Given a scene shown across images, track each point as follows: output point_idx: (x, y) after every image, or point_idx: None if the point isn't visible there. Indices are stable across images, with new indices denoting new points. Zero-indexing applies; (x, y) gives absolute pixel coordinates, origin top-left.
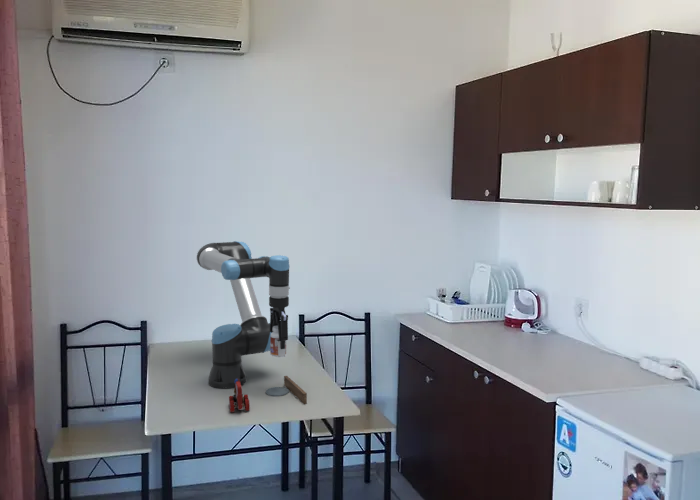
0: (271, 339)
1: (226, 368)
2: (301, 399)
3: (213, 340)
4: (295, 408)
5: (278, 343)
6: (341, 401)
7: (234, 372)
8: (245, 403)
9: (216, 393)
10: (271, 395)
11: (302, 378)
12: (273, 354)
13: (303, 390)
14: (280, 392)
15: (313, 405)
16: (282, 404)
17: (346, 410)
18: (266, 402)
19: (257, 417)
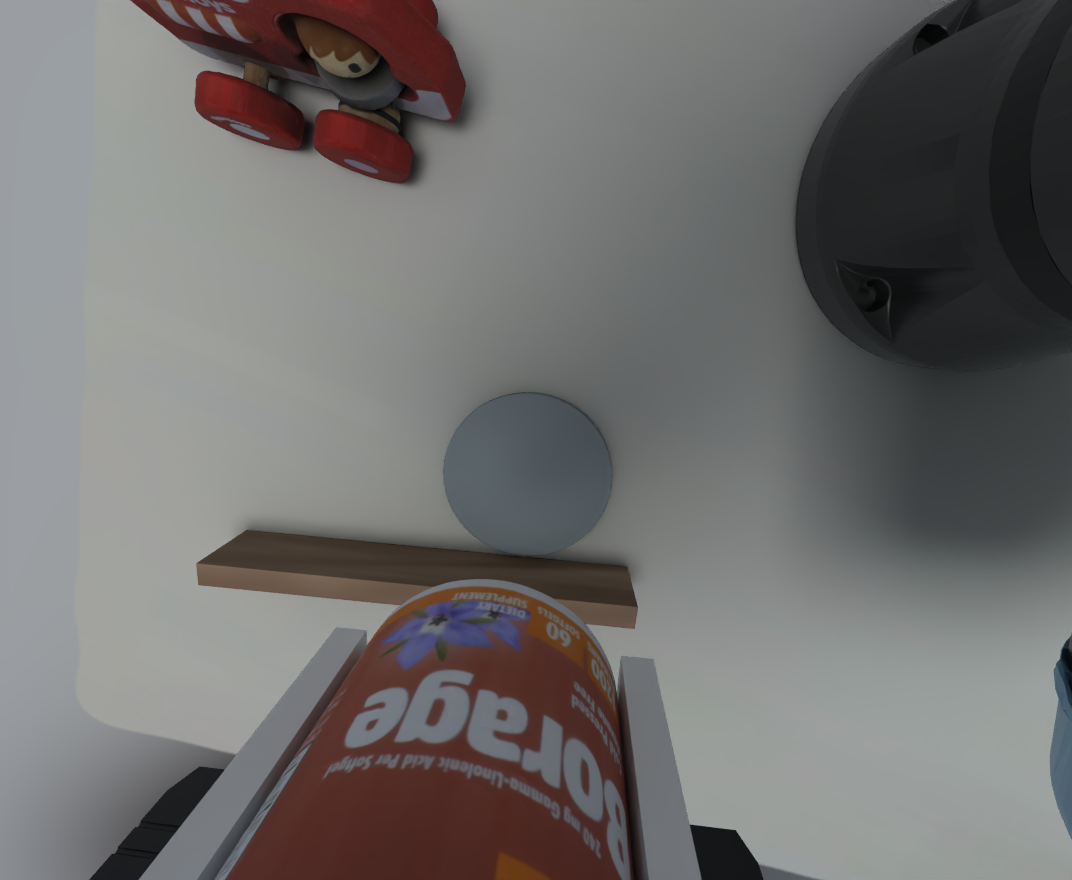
0: (343, 871)
1: (996, 67)
2: (275, 541)
3: None
4: (195, 455)
5: (170, 865)
6: (211, 724)
7: (905, 191)
8: (199, 74)
9: (758, 7)
10: (476, 409)
11: (693, 723)
12: (415, 601)
13: (261, 590)
14: (482, 482)
15: None
16: (292, 410)
17: (76, 683)
18: (371, 326)
19: (121, 154)
